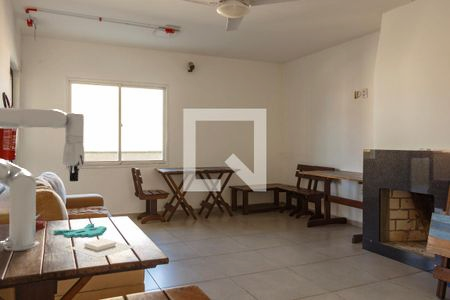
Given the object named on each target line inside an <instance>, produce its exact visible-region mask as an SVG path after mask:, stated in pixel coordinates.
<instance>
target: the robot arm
mask: <svg viewBox="0 0 450 300" xmlns="http://www.w3.org/2000/svg"><path fill="white" fill-rule="evenodd" d="M84 118H85V116H84V114H83V113H82V112H72V111H71V112H67V113H66V112H63V111H62V110H59V109H47V108H46V109H43V108H41V109H39V108H22V107H21V108H18V107H0V129H10V130H11V129H13V130H14V129H16V130H17V129H19V130H21V129H29V128H52V129H64V131H65V135H64V139H65V140H64V141H65V142H64V145H63V153H62V154H63V155H62V163H63V165H64V166H66V167H65V168H67V169H68V173H69V181H70V182H78V181H79V173H80V170H81V169H83V165H84V164H85V149H84V148H85V147H84V129H85V127H84V126H85V125H84V124H85V121H84V120H85V119H84ZM0 184H1V185H3V186H6V187H7V188H9V231H8V235H9V236H8V237H6V239H4V240H1V241H0V247H4V249H5V250H6V251H9V252H19V251H26V250H27V251H29V249H34V248H36V247H38V246H40V241H38V240H36V220H37V218H36V216H37V215H36V214H37V213H36V212H37V207H36V205H37V202H36V201H37V179H36V177H35V175H34V174H33V173H31V172H30V171H28V170H27V169H25V168H22V167H20V166H18V165H16V164H14V163H12V162H10V161H8V160H5V159H3V158H0Z"/></svg>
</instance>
